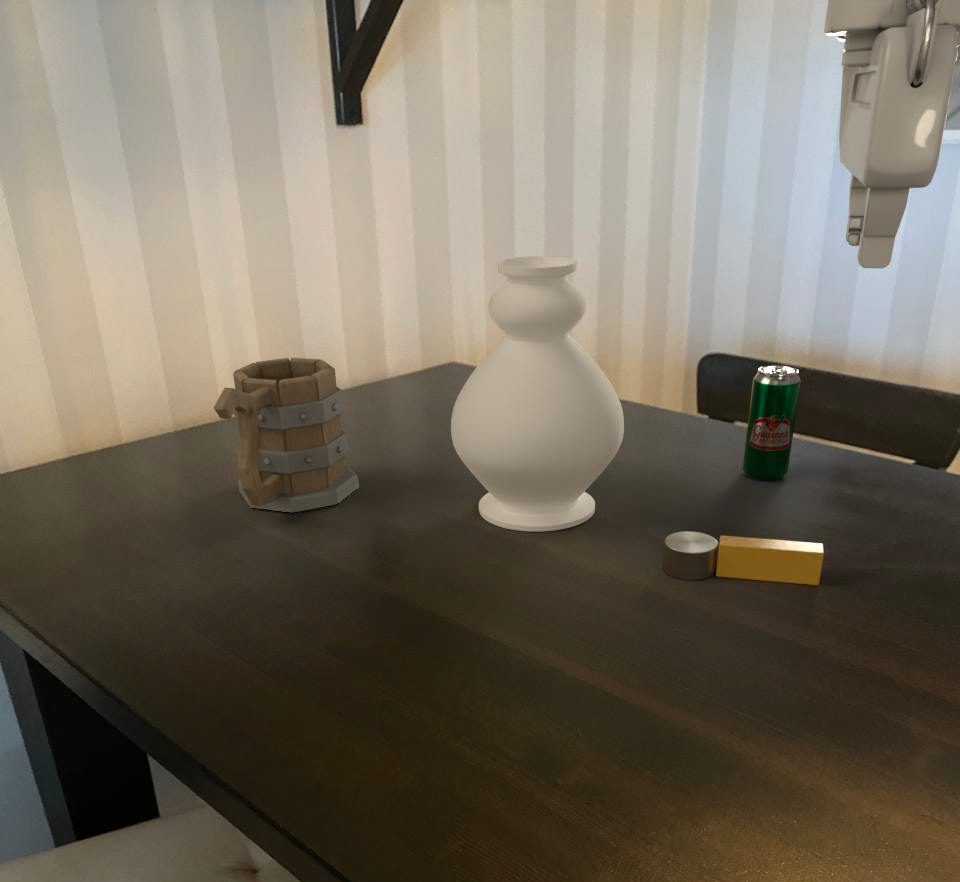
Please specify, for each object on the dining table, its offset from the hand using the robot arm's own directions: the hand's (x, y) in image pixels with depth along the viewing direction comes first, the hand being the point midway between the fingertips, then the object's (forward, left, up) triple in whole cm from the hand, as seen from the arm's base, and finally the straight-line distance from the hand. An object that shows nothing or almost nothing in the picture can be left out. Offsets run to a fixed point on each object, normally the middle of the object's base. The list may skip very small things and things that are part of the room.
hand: (865, 255), depth 60 cm
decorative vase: (+19, -30, -29) cm, 46 cm away
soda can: (-8, -38, -29) cm, 49 cm away
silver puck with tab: (+2, -13, -29) cm, 32 cm away
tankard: (+47, -34, -29) cm, 65 cm away
